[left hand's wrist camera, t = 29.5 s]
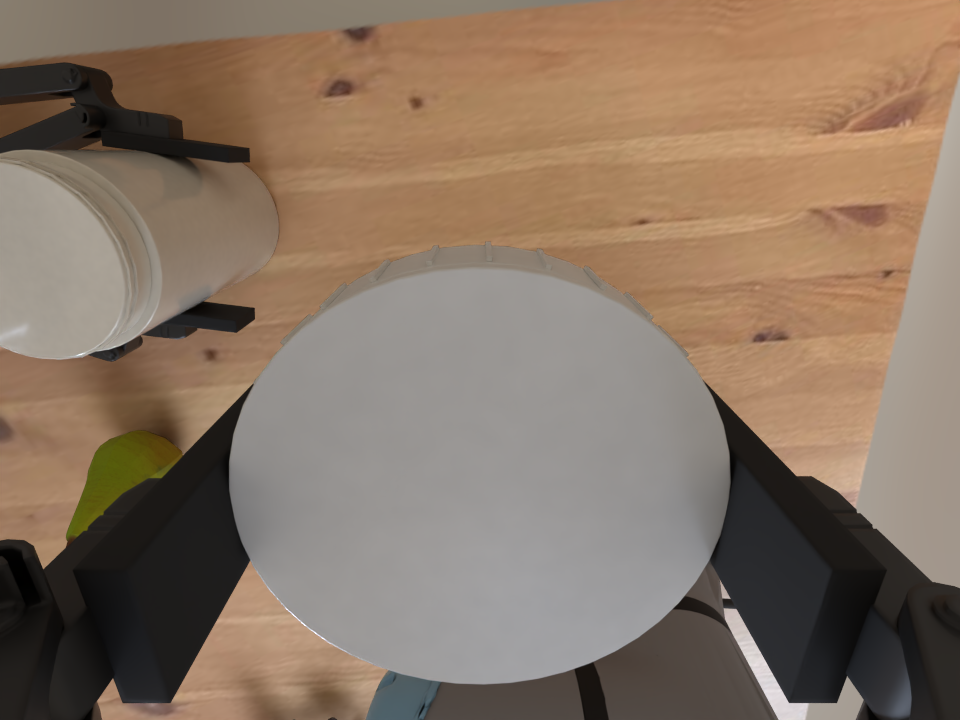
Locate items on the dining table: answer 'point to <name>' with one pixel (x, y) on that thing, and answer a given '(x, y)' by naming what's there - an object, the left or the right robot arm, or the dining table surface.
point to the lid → (479, 468)
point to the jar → (120, 243)
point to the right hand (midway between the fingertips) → (242, 242)
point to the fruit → (120, 473)
